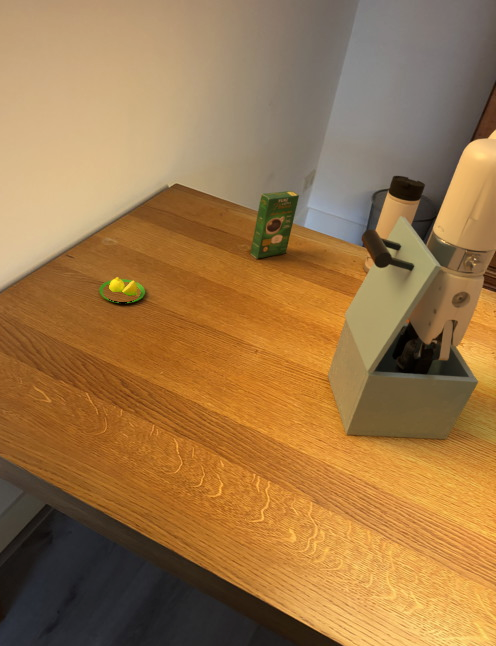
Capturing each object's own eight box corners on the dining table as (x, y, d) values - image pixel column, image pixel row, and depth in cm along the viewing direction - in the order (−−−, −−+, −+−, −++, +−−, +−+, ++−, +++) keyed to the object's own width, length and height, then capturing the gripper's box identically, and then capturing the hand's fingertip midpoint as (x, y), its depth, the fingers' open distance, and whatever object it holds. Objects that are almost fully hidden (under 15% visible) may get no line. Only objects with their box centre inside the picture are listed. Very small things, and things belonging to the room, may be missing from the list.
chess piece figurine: (369, 407, 80) (396, 341, 72) (375, 384, 84) (401, 319, 76) (410, 420, 78) (441, 355, 71) (413, 396, 83) (443, 332, 75)
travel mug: (358, 271, 114) (388, 176, 101) (369, 261, 118) (400, 169, 106) (386, 282, 111) (420, 187, 99) (397, 271, 116) (431, 178, 103)
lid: (405, 217, 69) (364, 204, 68) (442, 267, 59) (395, 253, 58) (349, 316, 79) (312, 306, 77) (372, 373, 69) (331, 363, 67)
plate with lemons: (150, 286, 100) (150, 273, 98) (137, 309, 94) (138, 295, 92) (107, 278, 100) (107, 265, 99) (92, 300, 94) (92, 286, 92)
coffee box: (279, 247, 118) (291, 188, 110) (287, 253, 116) (300, 194, 108) (249, 253, 114) (259, 193, 106) (257, 260, 113) (268, 198, 104)
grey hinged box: (416, 380, 87) (442, 325, 80) (446, 439, 77) (478, 381, 71) (327, 375, 86) (345, 318, 79) (345, 434, 76) (368, 375, 69)
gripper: (520, 289, 59) (454, 410, 71) (461, 223, 72) (413, 335, 84) (455, 284, 59) (399, 407, 70) (407, 218, 71) (366, 332, 83)
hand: (407, 367), depth 77 cm, fingers closed on chess piece figurine, 3 cm apart
